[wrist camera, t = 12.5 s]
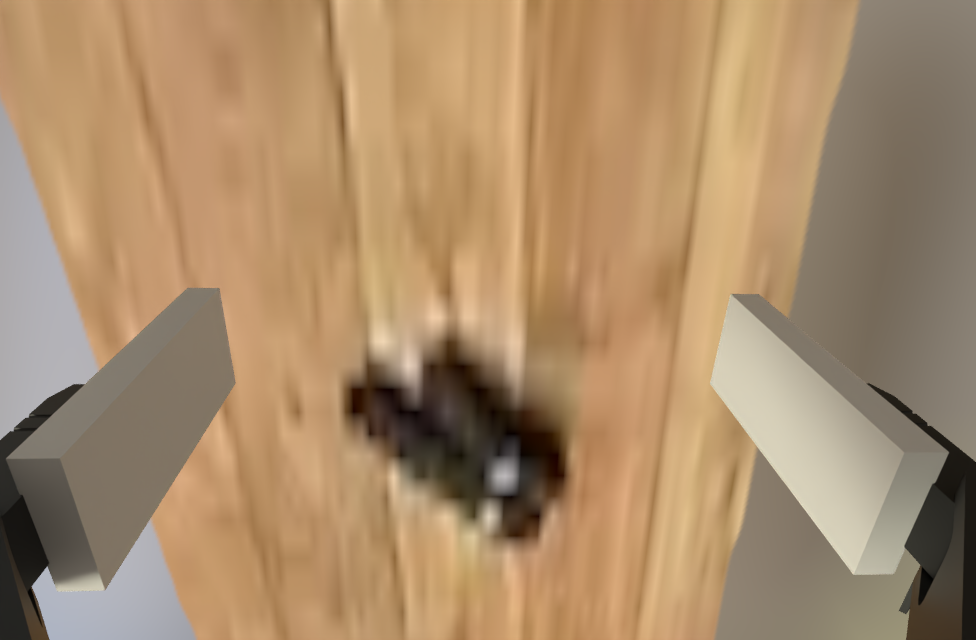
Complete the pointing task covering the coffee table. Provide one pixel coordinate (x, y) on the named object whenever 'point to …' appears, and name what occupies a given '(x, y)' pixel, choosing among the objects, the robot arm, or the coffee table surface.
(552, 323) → the coffee table surface
